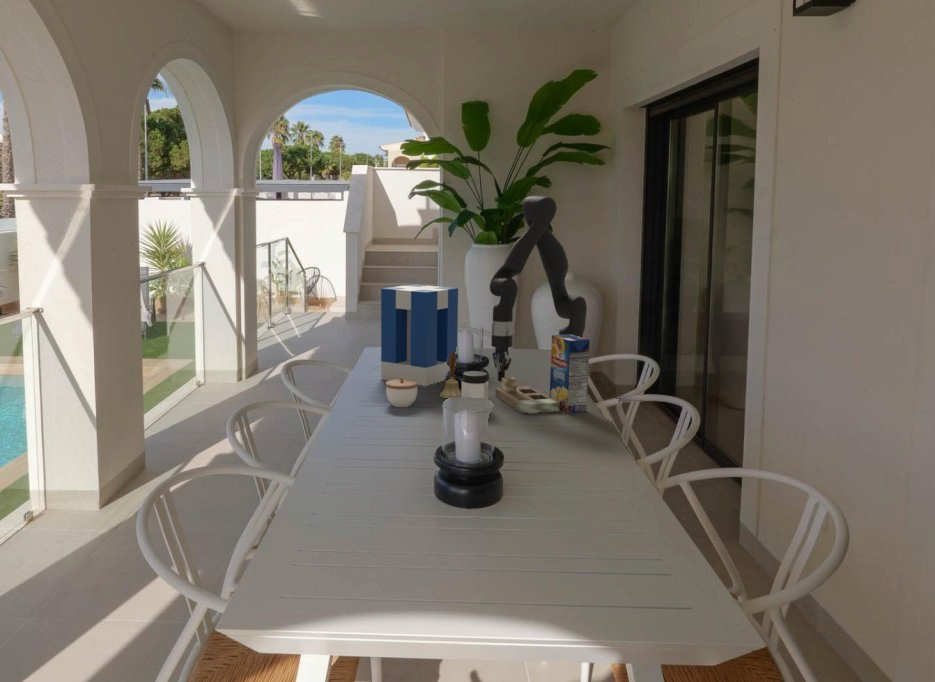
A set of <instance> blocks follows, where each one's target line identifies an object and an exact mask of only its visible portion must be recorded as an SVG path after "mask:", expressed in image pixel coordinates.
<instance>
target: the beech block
mask: <svg viewBox="0 0 935 682" xmlns="http://www.w3.org/2000/svg"><path fill="white" fill-rule="evenodd" d="M517 382H518V379H517V378H515V377H513V376H512V377H505V378H502V382H501V388H502V390H504V391H516V388H517V387H518V386H517Z"/></svg>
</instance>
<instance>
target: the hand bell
mask: <svg viewBox="0 0 935 682" xmlns="http://www.w3.org/2000/svg"><path fill="white" fill-rule="evenodd" d="M455 366H456V356H455V352H451V354H450V356H449V367H450V379H448V380H445V384H444V388H443V391H441V393H440V394H439V397H441V398H442V399H446V398H450V397H460V396H461V392H462V391H461V389H460V386H459V381H458V380H456V379H455V378H454V376H455V375H454V369H455Z"/></svg>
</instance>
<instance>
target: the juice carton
mask: <svg viewBox="0 0 935 682" xmlns="http://www.w3.org/2000/svg"><path fill="white" fill-rule="evenodd" d="M590 342H591V340H590V339H589V338H585V337H583V338H582V337H579V336H575V335H572V334H567V335H559V334H552V335H551V348H550V351H551V352H550V379H549V397H550V398H552V399H554V400H556V401H558V402H559V411H561V412H563V411H564V412H563V413H565V412H566V413H565V414H573V413H572V412H575V413H582V412H581V411H586V412H587V411H588V409H587V408H588V387H589V385H588V384H589V364H590V363H589V361H590Z"/></svg>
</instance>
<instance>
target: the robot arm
mask: <svg viewBox="0 0 935 682" xmlns="http://www.w3.org/2000/svg"><path fill="white" fill-rule="evenodd" d="M556 212H557V203H556V201H555V200H554V198H552V197H550V196H541V195H530V196H527V197H526V198H525V199H524V200H523V204H522V213H523V217H524V219H525V223H526V224H527V226H528V229H526V231H525V232H524V233H523V234H522V235H521V236H520V237H519V238H518V239H517V241H516V242H515V243H514V244H513V245H512V246H511V248H510V250H509V251H508V253H507V256H506V258H505V260H504V262H503V264H502V265H501V266H500V267H499V268H498V270H497V271H496V273H494V275H493V277H492V279H491V280H490V281H489V282H490V284H489V291H490V293H491V294H492V295H493V296H495V297H499V298H500V299H499V302H498V303H495V304H494V305H493V307H492V325H491V347H493V348H495V350H494V352H492V359H493V363H494V367H495V369H496V371H497V381H498V382H501V383H502V378H506V376H505V375H506V371H508V370H509V368H510V364H511V363H512V358H511V357H510V355H509V354H510V353H509V348H512V347H513V342H514V339H513V338H514V336H513V335H514V326H513V325H514V324H513V316H514V315H513V314H514V313H513V310H514V307H515V305H516V304H515V303H516V299H517V296H518V289H519V287H518V283H517V281H516V280H515V279H513V278H514V277H515V276H518V275H520V274H521V273H522V271H523V269H524V268H525V266H526V264H527V262H528V260H529V257H530V255H531V253H532V252H533V250H534V248H535V246H536V249H537V251H538V254H539V258H540V261H541V264H542V267H543V271H544V272H545V275H546V278H547V282H548V284H549V289H550V292H551V296H552V297H551V298H552V302H553V305H554V306H553V307H554V309H555V310H554V311H555V313H556V314H557V316H558V317H559V318H560V319H561V318H562V319H566V320H568V321H569V322H568V325H567V326H566V327H562V328H560V329H559V331H558V335H567V334H572V335H575V336H579V337H582V338H584V332H585V329H586V320H587V310H588V308H587V301H586V299H585V298H584V297H583V296H580V295H571V294H569V293H568V291H567V287H566V284H565V280H566V277H567V274H568V271H569V260H568V257H567V254H566V251H565V249H564V246H563V245H562V244H561V242H560V241H559V240H558V239H557V237H556V236H555V235H554V234H553V233H552V232H551V230H550V229H549V226H550V224H551V223H552V222H553V219H554V217H555V216H556Z"/></svg>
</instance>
